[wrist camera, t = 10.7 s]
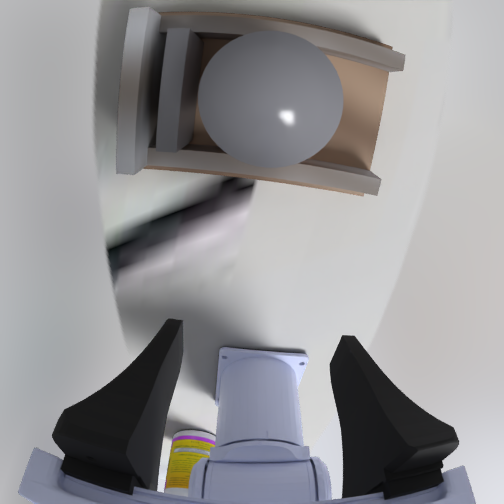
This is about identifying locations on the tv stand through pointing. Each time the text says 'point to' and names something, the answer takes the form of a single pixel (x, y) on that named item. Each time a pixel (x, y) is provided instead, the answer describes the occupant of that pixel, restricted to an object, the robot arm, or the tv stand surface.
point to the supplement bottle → (186, 458)
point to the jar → (270, 99)
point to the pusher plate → (178, 89)
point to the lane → (202, 146)
